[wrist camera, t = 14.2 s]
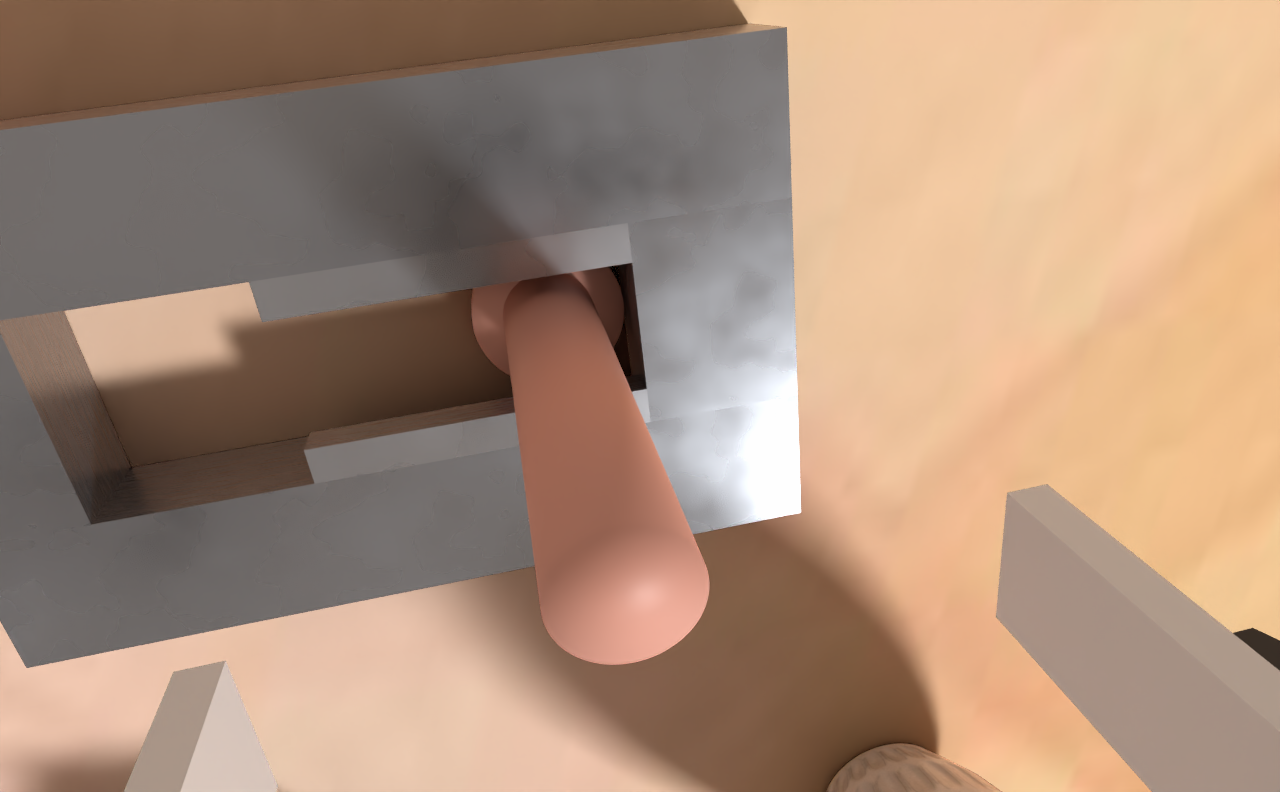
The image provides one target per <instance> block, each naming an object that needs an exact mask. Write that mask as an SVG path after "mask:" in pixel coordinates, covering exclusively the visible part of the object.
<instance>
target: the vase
mask: <svg viewBox="0 0 1280 792" xmlns="http://www.w3.org/2000/svg"><path fill="white" fill-rule="evenodd" d="M827 792H1002V791H1000V790H999V789H997V788H996V787H994V786H993V785H992V784H990V783H989V782H987V781H986V780H985V779H983V778H982V777H980V776H979V775H977V774H976V773H974V772H972V771H970V770H968V769H966V768H964V767H962V766H960V765H958V764H956V763H954V762H952V761H950V760H948V759H946V758H944V757H942V756H939V755H937V754H935V753H933V752H931V751H929V750H927V749H924V748H922V747H920V746H917V745H913V744H906V743H897V744H889V745H883V746H880V747H876V748H873V749H871V750H868V751H866V752H864V753H862V754H860V755H858V756H857V757H855V758H854V759H852V760H851V761H850V762H848V763H847V764H846V765H845V766H844V767H843V768H842V769H841V770H840V771H839V772H838V773H837V774H836V775H835V777H834V778H833V779H832V781H831V783H830V785H829V786H828V789H827Z"/></svg>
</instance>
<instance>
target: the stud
mask: <svg viewBox="0 0 1280 792" xmlns="http://www.w3.org/2000/svg"><path fill="white" fill-rule="evenodd" d="M471 311H472V324H473V329H474V333H475V337H476V339H477V341H478V344H479V346H480V347H481V349H482V351H483V352H484V354H485V355H486V356H487V358H488V359H489V360H490V361H491V362H492V363H493V364H494V365H495V366H496V367H497V368H499V369H500V370H501V371H503V372H504V373H506V374H508V375H509V376H511V384H512V392H513V400H514V407H515V415H516V423H517V431H518V439H519V447H520V454H521V462H522V470H523V478H524V486H525V493H526V501H527V509H528V517H529V525H530V532H531V540H532V548H533V556H534V564H535V572H536V579H537V587H538V595H539V603H540V611H541V616H542V620H543V623H544V626H545V628H546V630H547V632H548V633H549V635H550V636H551V638H552V639H553V640H554V641H555V642H556V643H557V644H558V645H559V646H560V647H561V648H562V649H564V650H565V651H566V652H568V653H570V654H571V655H573V656H575V657H578V658H580V659H582V660H585V661H589V662H592V663H598V664H608V665H618V664H628V663H635V662H639V661H642V660H646V659H649V658H651V657H654V656H656V655H658V654H660V653H662V652H665V651H666V650H668V649H669V648H671V647H673V646H674V645H675V644H677V643H678V642H679V641H681V640H682V639H683V638H684V637H685V636H686V635H687V634H688V633H689V632H690V631H691V630H692V629H693V627H694V626H695V625H696V624H697V622H698V620H699V619H700V617H701V616H702V613H703V611H704V609H705V607H706V604H707V600H708V596H709V582H710V581H709V574H708V570H707V567H706V564H705V562H704V559H703V557H702V555H701V552H700V550H699V548H698V545H697V543H696V541H695V538H694V536H693V534H692V531H691V529H690V527H689V524H688V522H687V520H686V517H685V515H684V513H683V510H682V508H681V506H680V503H679V501H678V499H677V496H676V494H675V492H674V489H673V487H672V485H671V482H670V480H669V478H668V475H667V473H666V471H665V468H664V466H663V464H662V461H661V459H660V457H659V454H658V452H657V450H656V447H655V445H654V443H653V440H652V438H651V436H650V433H649V431H648V429H647V426H646V424H645V422H644V419H643V417H642V415H641V412H640V410H639V408H638V405H637V403H636V401H635V398H634V396H633V394H632V391H631V389H630V387H629V384H628V382H627V380H626V377H625V375H624V373H623V370H622V368H621V366H620V363H619V361H618V359H617V356H616V354H615V352H614V349H613V348H614V346H615V344H616V343H617V341H618V338H619V336H620V333H621V330H622V325H623V320H624V302H623V297H622V293H621V290H620V286H619V284H618V282H617V280H616V278H615V276H614V274H613V272H612V271H611V269H610V267H609V266H608V267H602V268H596V269H590V270H583V271H577V272H571V273H565V274H559V275H552V276H546V277H540V278H534V279H528V280H521V281H515V282H509V283H503V284H496V285H490V286H484V287H478V288H473V290H472V298H471Z"/></svg>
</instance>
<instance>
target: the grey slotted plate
mask: <svg viewBox="0 0 1280 792" xmlns="http://www.w3.org/2000/svg"><path fill="white" fill-rule="evenodd" d="M615 265H618V270H619V278H620V286H621V293H622V297H623V302H624V318H625V326H626V335H627V343H628V351H629V359H630V367H631V375H632V376H627V377H626V380H627V382H628V384H629V387H630V389H631V391H632V394H633V396H634V398H635V401H636V403H637V405H638V408H639V410H640V412H641V415H642V417H643V419H644V422H645V424H646V426H647V429H648V431H649V433H650V436H651V438H652V440H653V443H654V445H655V447H656V450H657V452H658V454H659V457H660V459H661V461H662V464H663V466H664V468H665V471H666V473H667V475H668V478H669V480H670V482H671V485H672V487H673V489H674V492H675V494H676V496H677V499H678V501H679V503H680V506H681V508H682V510H683V513H684V515H685V517H686V520H687V522H688V524H689V527H690V529H691V531H692V534H697V533H702V532H707V531H712V530H717V529H722V528H727V527H732V526H737V525H742V524H747V523H752V522H757V521H762V520H767V519H772V518H777V517H782V516H787V515H792V514H797V513H801V496H800V462H799V428H798V394H797V360H796V326H795V292H794V258H793V224H792V190H791V156H790V123H789V89H788V55H787V27H779V26H769V25H759V24H741V25H734V26H726V27H718V28H710V29H703V30H695V31H687V32H679V33H672V34H664V35H656V36H649V37H641V38H633V39H625V40H618V41H610V42H602V43H594V44H587V45H579V46H571V47H564V48H556V49H548V50H540V51H533V52H525V53H517V54H509V55H502V56H494V57H486V58H479V59H471V60H463V61H455V62H448V63H440V64H432V65H424V66H417V67H409V68H401V69H394V70H386V71H378V72H370V73H363V74H355V75H347V76H339V77H332V78H324V79H316V80H309V81H301V82H293V83H285V84H278V85H270V86H262V87H254V88H247V89H239V90H231V91H224V92H216V93H208V94H200V95H193V96H185V97H177V98H169V99H162V100H154V101H146V102H139V103H131V104H123V105H115V106H108V107H100V108H92V109H84V110H77V111H69V112H61V113H54V114H46V115H38V116H30V117H23V118H15V119H7V120H0V621H1V623H2V625H3V627H4V629H5V630H6V632H7V634H8V636H9V637H10V639H11V641H12V643H13V644H14V646H15V648H16V650H17V652H18V653H19V655H20V657H21V659H22V660H23V662H24V664H25V666H26V668H29V667H34V666H39V665H44V664H49V663H54V662H59V661H64V660H69V659H74V658H79V657H84V656H89V655H94V654H99V653H104V652H109V651H114V650H119V649H124V648H129V647H134V646H139V645H144V644H149V643H154V642H159V641H164V640H169V639H174V638H179V637H184V636H189V635H194V634H199V633H204V632H209V631H214V630H218V629H223V628H228V627H233V626H238V625H243V624H248V623H253V622H258V621H263V620H268V619H273V618H278V617H283V616H288V615H293V614H298V613H303V612H308V611H313V610H318V609H323V608H328V607H333V606H338V605H343V604H348V603H353V602H358V601H363V600H368V599H373V598H378V597H383V596H388V595H393V594H398V593H403V592H408V591H413V590H418V589H423V588H428V587H433V586H438V585H443V584H448V583H453V582H458V581H463V580H468V579H473V578H478V577H483V576H488V575H493V574H498V573H503V572H508V571H513V570H518V569H523V568H527V567H532V566H535V564H534V556H533V548H532V540H531V532H530V525H529V517H528V509H527V501H526V493H525V486H524V478H523V470H522V462H521V454H520V447H519V439H518V431H517V423H516V415H515V407H514V400H513V397H508V398H502V399H496V400H491V401H485V402H479V403H474V404H468V405H463V406H457V407H451V408H446V409H440V410H434V411H429V412H423V413H417V414H412V415H406V416H400V417H395V418H389V419H383V420H378V421H372V422H366V423H361V424H355V425H349V426H344V427H338V428H332V429H327V430H321V431H315V432H310V434H309V436H307V437H302V438H296V439H290V440H285V441H279V442H273V443H268V444H262V445H257V446H251V447H245V448H240V449H234V450H228V451H223V452H217V453H211V454H206V455H200V456H194V457H189V458H183V459H177V460H172V461H166V462H161V463H155V464H149V465H144V466H138V467H132V468H131V466H130V463H129V461H128V459H127V456H126V454H125V452H124V449H123V447H122V445H121V443H120V440H119V438H118V436H117V433H116V431H115V429H114V426H113V424H112V422H111V419H110V417H109V415H108V412H107V410H106V408H105V406H104V403H103V401H102V399H101V396H100V394H99V392H98V389H97V387H96V385H95V382H94V380H93V378H92V375H91V373H90V371H89V369H88V366H87V364H86V362H85V359H84V357H83V355H82V352H81V350H80V348H79V345H78V343H77V341H76V338H75V336H74V334H73V331H72V329H71V327H70V325H69V322H68V320H67V318H66V315H65V313H64V311H65V310H71V309H77V308H84V307H90V306H97V305H103V304H110V303H116V302H123V301H129V300H135V299H142V298H148V297H155V296H161V295H168V294H174V293H181V292H187V291H193V290H200V289H206V288H213V287H219V286H226V285H232V284H239V283H245V282H249V283H250V286H251V289H252V293H253V296H254V299H255V302H256V305H257V308H258V311H259V314H260V317H261V320H262V322H266V321H273V320H279V319H285V318H291V317H297V316H304V315H310V314H316V313H322V312H329V311H335V310H341V309H347V308H353V307H360V306H366V305H372V304H378V303H385V302H391V301H397V300H403V299H409V298H416V297H422V296H428V295H434V294H440V293H447V292H453V291H459V290H465V289H472V288H478V287H484V286H490V285H496V284H503V283H509V282H515V281H521V280H528V279H534V278H540V277H546V276H552V275H559V274H565V273H571V272H577V271H583V270H590V269H596V268H602V267H608V266H615Z"/></svg>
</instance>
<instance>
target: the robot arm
mask: <svg viewBox="0 0 1280 792" xmlns="http://www.w3.org/2000/svg"><path fill="white" fill-rule="evenodd" d="M996 617H997V619H998V620H999V621H1000V622H1001V623H1002V624H1003V625H1004V626H1005V628H1006V629H1007V630H1008V631H1009V632H1010V633H1011V634H1012V635H1013V636H1014V638H1015V639H1016V640H1017V641H1018V642H1019V643H1020V644H1021V645H1022V647H1023V648H1024V649H1025V650H1026V651H1027V652H1028V653H1029V654H1030V656H1031V657H1032V658H1033V659H1034V660H1035V661H1036V662H1037V663H1038V665H1039V666H1040V667H1041V668H1042V669H1043V670H1044V671H1045V672H1046V673H1047V675H1048V676H1049V677H1050V678H1051V679H1052V680H1053V681H1054V682H1055V684H1056V685H1057V686H1058V687H1059V688H1060V689H1061V690H1062V691H1063V693H1064V694H1065V695H1066V696H1067V697H1068V698H1069V699H1070V700H1071V702H1072V703H1073V704H1074V705H1075V706H1076V707H1077V708H1078V709H1079V711H1080V712H1081V713H1082V714H1083V715H1084V716H1085V717H1086V718H1087V719H1088V721H1089V722H1090V723H1091V724H1092V725H1093V726H1094V727H1095V728H1096V730H1097V731H1098V732H1099V733H1100V734H1101V735H1102V736H1103V737H1104V739H1105V740H1106V741H1107V742H1108V743H1109V744H1110V745H1111V746H1112V748H1113V749H1114V750H1115V751H1116V752H1117V753H1118V754H1119V755H1120V756H1121V758H1122V759H1123V760H1124V761H1125V762H1126V763H1127V764H1128V765H1129V767H1130V768H1131V769H1132V770H1133V771H1134V772H1135V773H1136V774H1137V776H1138V777H1139V778H1140V779H1141V780H1142V781H1143V782H1144V783H1145V785H1146V786H1147V787H1148V788H1149V789H1150V790H1151V791H1152V792H1280V641H1279V640H1277V639H1275V638H1273V637H1271V636H1269V635H1267V634H1265V633H1263V632H1260V631H1258V630H1256V629H1254V628H1251V629H1247V630H1243V631H1239V632H1235V633H1232V632H1231V631H1229V630H1228V629H1227V628H1226V627H1224V626H1223V625H1222V624H1221V623H1219V622H1218V621H1217V620H1216V619H1214V618H1213V617H1212V616H1211V615H1209V614H1208V613H1207V612H1206V611H1204V610H1203V609H1202V608H1201V607H1200V606H1198V605H1197V604H1196V603H1195V602H1193V601H1192V600H1191V599H1190V598H1188V597H1187V596H1186V595H1185V594H1183V593H1182V592H1181V591H1180V590H1178V589H1177V588H1176V587H1175V586H1173V585H1172V584H1171V583H1170V582H1168V581H1167V580H1166V579H1165V578H1163V577H1162V576H1161V575H1160V574H1158V573H1157V572H1156V571H1155V570H1153V569H1152V568H1151V567H1150V566H1148V565H1147V564H1146V563H1145V562H1143V561H1142V560H1141V559H1140V558H1138V557H1137V556H1136V555H1135V554H1133V553H1132V552H1131V551H1130V550H1128V549H1127V548H1126V547H1125V546H1123V545H1122V544H1121V543H1120V542H1119V541H1117V540H1116V539H1115V538H1114V537H1112V536H1111V535H1110V534H1109V533H1107V532H1106V531H1105V530H1104V529H1102V528H1101V527H1100V526H1099V525H1097V524H1096V523H1095V522H1094V521H1092V520H1091V519H1090V518H1089V517H1087V516H1086V515H1085V514H1084V513H1082V512H1081V511H1080V510H1079V509H1077V508H1076V507H1075V506H1074V505H1072V504H1071V503H1070V502H1069V501H1067V500H1066V499H1065V498H1064V497H1062V496H1061V495H1060V494H1059V493H1057V492H1056V491H1055V490H1054V489H1052V488H1051V487H1050V486H1049V485H1047V484H1046V485H1042V486H1037V487H1032V488H1028V489H1023V490H1018V491H1014V492H1009V493H1007V500H1006V511H1005V522H1004V533H1003V544H1002V555H1001V566H1000V578H999V589H998V600H997V611H996ZM277 787H278V785H277V782H276V780H275V778H274V775H273V773H272V770H271V768H270V766H269V763H268V761H267V758H266V756H265V754H264V751H263V749H262V747H261V744H260V742H259V739H258V737H257V735H256V732H255V730H254V727H253V725H252V723H251V720H250V718H249V715H248V713H247V711H246V708H245V706H244V704H243V701H242V699H241V696H240V694H239V692H238V689H237V687H236V684H235V682H234V680H233V677H232V675H231V672H230V670H229V668H228V665H227V663H226V661H222V662H218V663H213V664H208V665H204V666H199V667H194V668H190V669H185V670H180V671H176V672H173V675H172V677H171V679H170V682H169V684H168V687H167V689H166V691H165V694H164V696H163V699H162V701H161V703H160V706H159V708H158V711H157V713H156V715H155V718H154V720H153V723H152V725H151V727H150V730H149V732H148V734H147V737H146V739H145V742H144V744H143V746H142V749H141V751H140V754H139V756H138V758H137V761H136V763H135V766H134V768H133V770H132V773H131V775H130V778H129V780H128V782H127V785H126V787H125V790H124V792H277Z"/></svg>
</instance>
